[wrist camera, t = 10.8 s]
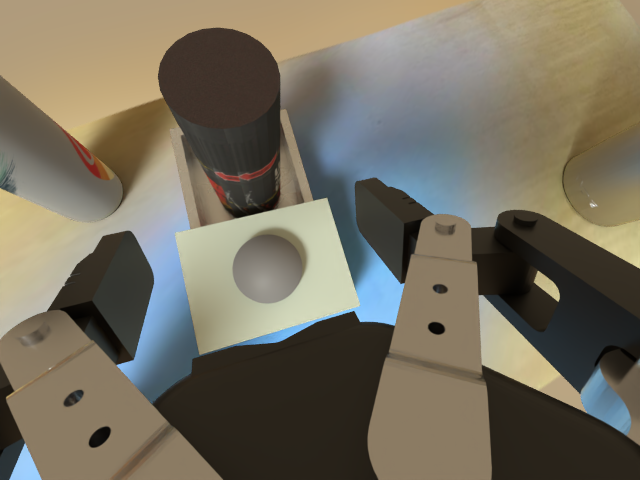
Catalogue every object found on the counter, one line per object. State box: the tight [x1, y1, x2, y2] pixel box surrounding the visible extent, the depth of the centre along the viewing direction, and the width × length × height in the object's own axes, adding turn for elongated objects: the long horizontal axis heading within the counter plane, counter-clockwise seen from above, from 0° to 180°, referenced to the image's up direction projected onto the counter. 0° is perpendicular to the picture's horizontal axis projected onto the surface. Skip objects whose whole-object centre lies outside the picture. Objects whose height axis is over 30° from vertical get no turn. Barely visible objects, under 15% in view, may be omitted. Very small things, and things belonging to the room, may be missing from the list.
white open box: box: [169, 109, 313, 229], centre depth 29 cm, size 11×10×4 cm
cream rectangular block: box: [175, 198, 360, 355], centre depth 26 cm, size 12×9×7 cm
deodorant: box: [158, 28, 280, 218], centre depth 23 cm, size 6×6×15 cm
